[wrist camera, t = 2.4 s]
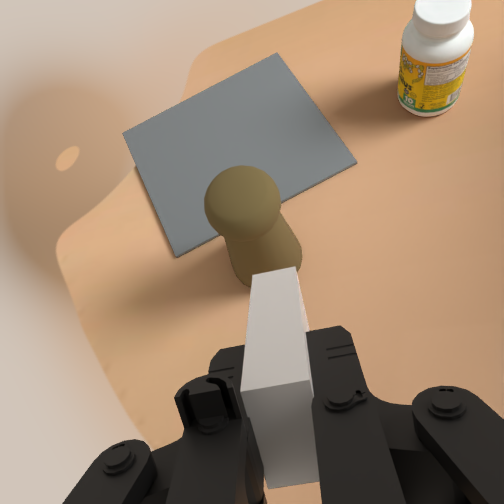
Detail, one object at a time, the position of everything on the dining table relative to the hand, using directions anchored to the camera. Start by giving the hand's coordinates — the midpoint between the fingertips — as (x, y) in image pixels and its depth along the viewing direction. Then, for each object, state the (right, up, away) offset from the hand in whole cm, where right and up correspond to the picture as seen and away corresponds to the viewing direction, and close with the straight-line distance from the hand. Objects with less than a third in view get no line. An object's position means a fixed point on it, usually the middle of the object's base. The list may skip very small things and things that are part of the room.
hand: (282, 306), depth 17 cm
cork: (0, +1, +24) cm, 24 cm away
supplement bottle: (+15, +16, +27) cm, 35 cm away
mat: (-3, +12, +29) cm, 32 cm away
